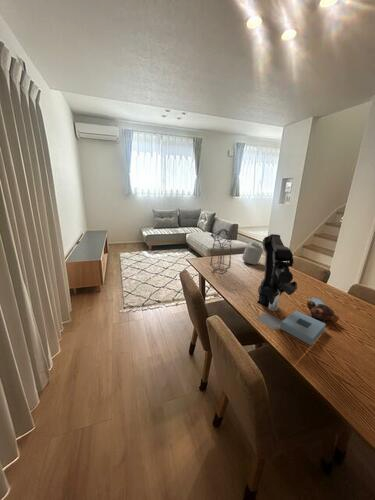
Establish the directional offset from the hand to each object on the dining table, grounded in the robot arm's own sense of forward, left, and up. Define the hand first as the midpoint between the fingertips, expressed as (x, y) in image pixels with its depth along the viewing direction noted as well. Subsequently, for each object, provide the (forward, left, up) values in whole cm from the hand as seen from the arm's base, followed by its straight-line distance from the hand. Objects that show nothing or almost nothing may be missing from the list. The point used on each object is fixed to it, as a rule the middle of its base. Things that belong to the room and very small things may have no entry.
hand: (273, 303), depth 101 cm
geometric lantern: (-60, +29, -11) cm, 68 cm away
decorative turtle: (+15, +24, -11) cm, 30 cm away
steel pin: (0, 0, -3) cm, 3 cm away
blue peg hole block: (+13, +6, -11) cm, 18 cm away
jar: (-55, +67, -11) cm, 87 cm away
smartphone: (+10, +38, -11) cm, 41 cm away
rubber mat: (0, 0, -11) cm, 11 cm away
